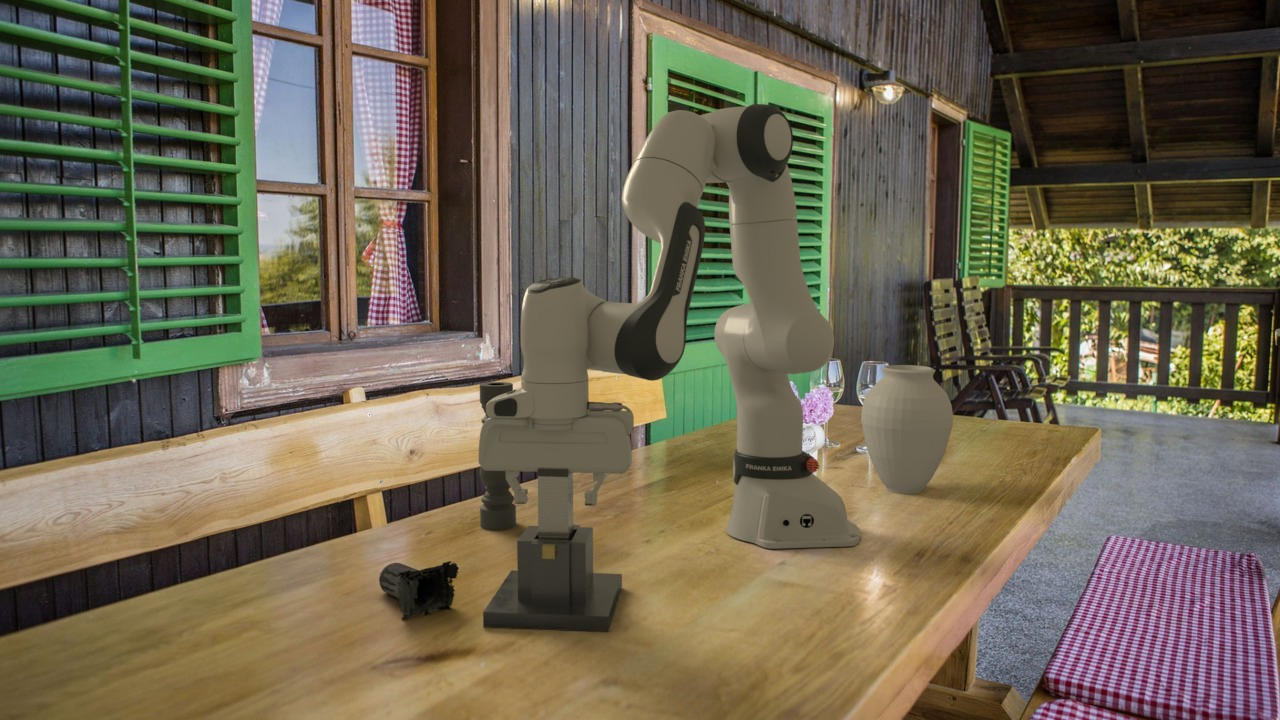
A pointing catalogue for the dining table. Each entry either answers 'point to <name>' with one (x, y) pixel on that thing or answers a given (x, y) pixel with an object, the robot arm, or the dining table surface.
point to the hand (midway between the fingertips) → (555, 504)
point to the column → (555, 504)
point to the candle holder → (495, 476)
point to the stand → (555, 587)
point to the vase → (906, 427)
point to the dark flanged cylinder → (420, 587)
